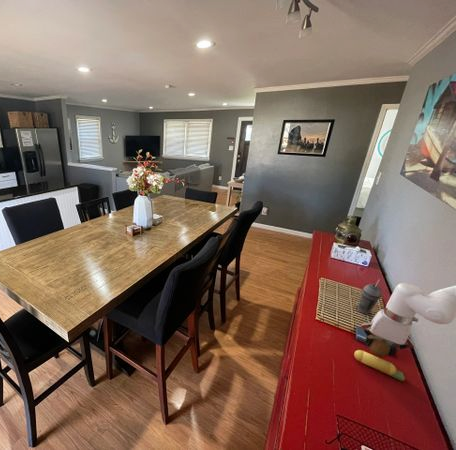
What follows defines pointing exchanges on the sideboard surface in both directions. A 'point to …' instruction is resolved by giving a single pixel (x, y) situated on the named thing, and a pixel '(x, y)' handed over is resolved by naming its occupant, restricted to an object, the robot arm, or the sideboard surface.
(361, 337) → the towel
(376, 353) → the fruit
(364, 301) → the beverage cup
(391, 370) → the corn cob
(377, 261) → the sideboard surface
